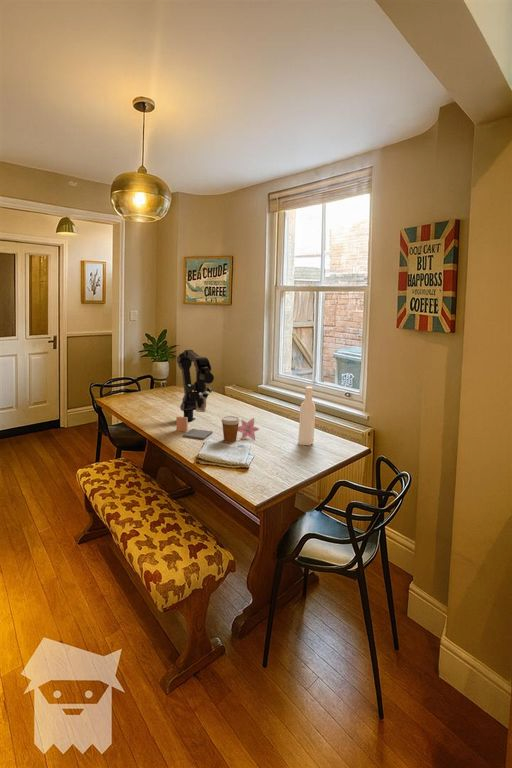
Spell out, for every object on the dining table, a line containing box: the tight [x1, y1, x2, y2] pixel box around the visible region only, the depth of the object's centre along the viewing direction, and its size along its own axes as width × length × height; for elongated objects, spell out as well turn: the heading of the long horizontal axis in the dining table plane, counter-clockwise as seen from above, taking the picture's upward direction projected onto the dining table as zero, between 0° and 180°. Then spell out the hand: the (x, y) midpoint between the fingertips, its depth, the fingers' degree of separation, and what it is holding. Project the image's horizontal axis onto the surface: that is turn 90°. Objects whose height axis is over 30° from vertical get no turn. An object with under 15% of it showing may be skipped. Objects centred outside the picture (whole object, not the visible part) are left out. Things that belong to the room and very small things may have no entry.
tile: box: [175, 415, 189, 433], centre depth 232 cm, size 2×6×8 cm, turn 74°
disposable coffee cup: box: [221, 415, 241, 443], centre depth 219 cm, size 10×10×12 cm
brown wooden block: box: [195, 397, 207, 413], centre depth 237 cm, size 3×5×8 cm, turn 75°
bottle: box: [297, 386, 317, 446], centre depth 218 cm, size 8×8×30 cm
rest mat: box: [182, 428, 214, 440], centre depth 227 cm, size 12×12×1 cm
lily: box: [238, 417, 260, 441], centre depth 226 cm, size 12×12×10 cm
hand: (200, 407), depth 237 cm, fingers closed on brown wooden block, 3 cm apart
